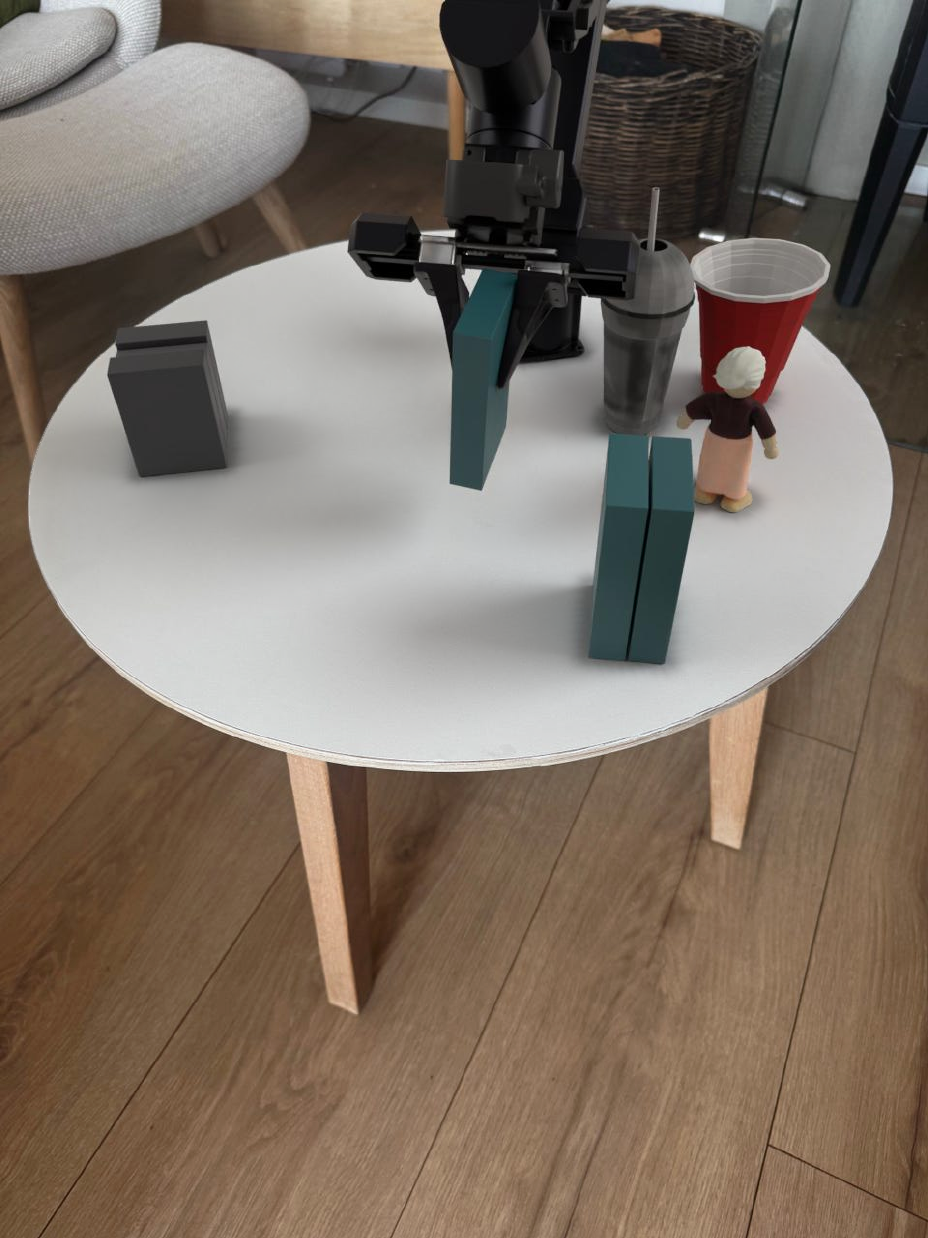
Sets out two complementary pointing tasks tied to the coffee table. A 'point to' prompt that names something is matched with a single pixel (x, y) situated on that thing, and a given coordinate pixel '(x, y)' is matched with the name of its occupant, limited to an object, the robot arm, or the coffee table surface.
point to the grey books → (170, 397)
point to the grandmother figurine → (731, 430)
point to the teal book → (479, 379)
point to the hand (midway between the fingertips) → (479, 386)
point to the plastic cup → (754, 302)
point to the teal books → (641, 546)
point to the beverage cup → (645, 334)
